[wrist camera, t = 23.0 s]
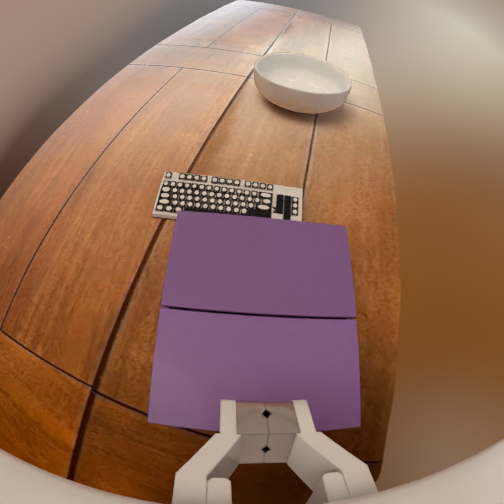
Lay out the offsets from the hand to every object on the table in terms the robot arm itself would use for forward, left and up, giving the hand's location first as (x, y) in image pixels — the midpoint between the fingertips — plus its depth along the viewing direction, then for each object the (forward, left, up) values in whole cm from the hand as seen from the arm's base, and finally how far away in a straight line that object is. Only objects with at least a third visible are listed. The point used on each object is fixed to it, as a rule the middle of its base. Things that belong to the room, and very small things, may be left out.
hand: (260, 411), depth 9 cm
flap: (+2, -1, -7) cm, 8 cm away
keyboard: (+22, +2, -17) cm, 28 cm away
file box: (+6, -1, -17) cm, 18 cm away
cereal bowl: (+48, -8, -17) cm, 52 cm away
